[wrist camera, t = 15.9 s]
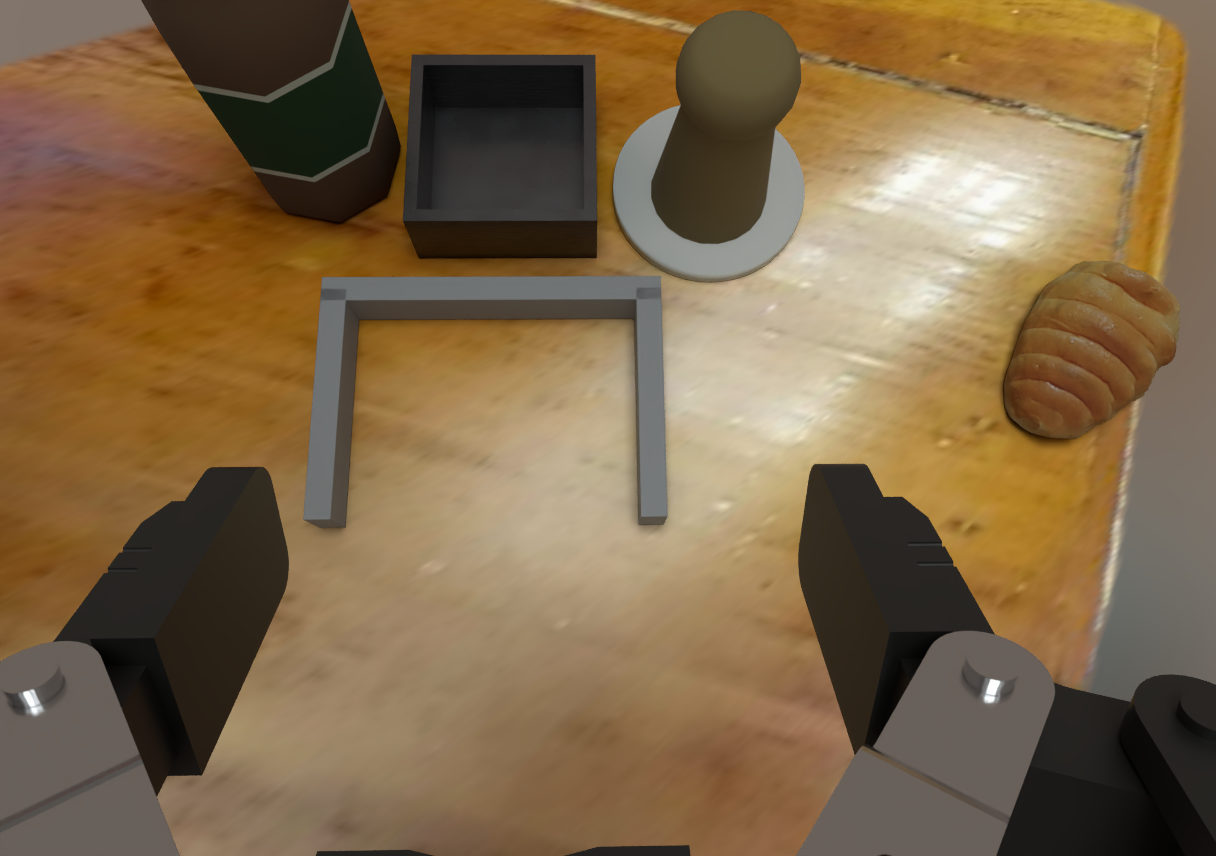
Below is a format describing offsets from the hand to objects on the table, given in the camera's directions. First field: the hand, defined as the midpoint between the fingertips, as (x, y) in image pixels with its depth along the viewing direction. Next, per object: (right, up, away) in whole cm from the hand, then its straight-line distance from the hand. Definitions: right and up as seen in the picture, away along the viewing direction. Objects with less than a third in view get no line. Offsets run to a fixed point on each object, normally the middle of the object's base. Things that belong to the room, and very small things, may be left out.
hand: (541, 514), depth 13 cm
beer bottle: (-14, +15, +34) cm, 39 cm away
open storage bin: (-4, +15, +33) cm, 37 cm away
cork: (+6, +14, +32) cm, 36 cm away
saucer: (+6, +14, +33) cm, 37 cm away
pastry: (+25, +5, +32) cm, 41 cm away
